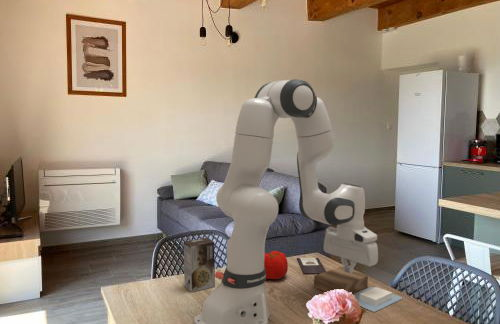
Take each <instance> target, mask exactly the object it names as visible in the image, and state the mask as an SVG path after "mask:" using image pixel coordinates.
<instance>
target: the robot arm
mask: <svg viewBox="0 0 500 324" xmlns="http://www.w3.org/2000/svg"><path fill="white" fill-rule="evenodd" d="M279 118H280V119H289V118H290V119H291V121H292V122H293V124H294V128H295V135H296V139H297V146H298V147H297V148H298V151H297V154H296V164H297V176H298V182H299V200H298V201H299V202H298V207H299V212H300V213H301V215H302V217H304V218H305V219H307V220H310V221H317V222H320V223H322V224H326V225H329V226H328V227H327V228H325V236H324V241H323V247H322V248H323V251H324V252H325V254H326V253H327V254H329V255H333V256H336V257H338V258H340V262H341V264H342V268H343V270H344V271H346V272H349V273H353V272H355V270H354V268H355V267H356V266H357V264H360V265H364V266H367V267H373V266H375V265H376V264H377V263H378V261H379V247H378V244H377V242H376V241H377V240H378V235H377V234H376V233H375V232H373V231H372V230H370V229H368V228H367V227H366V226H365V220H364V214H365V213H366V212H365V211H366V195H365V194H366V193H365V190H364V188H363V187H362V186H361V185H359V184H358V185H356V184H351V183H345V182H343V183H341V184H340V186H339V187H338V188H337V189H336V190H334V191H332V192H329V193H325V192H322V190H321V189H320V188H319V184H318V183H319V182H318V176H317V175H318V173H317V165H318V162H320V161H321V160H323V159H326V158H327V157H328V156H329V155H330V154H331V152H332V150H333V149H334V146H335V143H334V142H335V140H334V132H333V127H332V123H331V120H330V116H329V113H328V111H327V107H326V105H325V103H324V101H323V99H321V98H320V97H317V96H316V92H315V90H314V88H313V87H312V86H311V85H310V84H309V83H308V81H305V80H302V79H298V78H297V79H296V78H295V79H293V78H292V79H280V80H275V81H272V82H271V81H270V82H267V83H265V84H263V85H262V86H260V88H258V90H257V92H256V93H255V95H254V97H252V98H249V99H246V100H245V101H244V102H243V104H241V107H240V110H239V113H238V117H237V122H236V127H235V133H234V134H235V135H234V142H233V147H232V155H231V161H230V164H229V168H228V170H227V173H226V177H225V179H224V182H223V184H222V185H221V186H220V187H219V189H218V190H217V192H216V199H215V200H216V204H217V206H218V208H219V209H220V210H221V212H222V213H224V215H225V216H227V217H230V218H231V219H233V228H232V232H231V235H230V238H229V239H228V240H227V242H226V267H225V269H224V271H223V272H221V271H220V270H217V271H215V279H218V280H221V282H220V283H219V284H218V285H217V286H216V288H215V289H213V291H211V293H210V294H209V295H208V296H207V297H206V298H204V300H203V304H202V309H201V313H198V314H197V315H195V316H194V317H193V318H194V319H193V322H194V323H193V324H269V319H270V317H271V315H270V314H271V313H270V310H269V306H268V302H267V296H266V287H265V286H266V285H265V282H266V280H267V279H266V269H265V267H264V253H266V251H265V249H266V248H265V247H266V238H267V234H268V233H269V232H268V231H269V228H270V227H271V225H272V224H273V223H274V222H275V221H276V219H277V217H278V216H279V215H278V214H279V202H278V200H277V198H276V197H275V196H274V194H273V195H272V193H270V192H269V191H268V190H266V189H264V188H262V187H259V185H260V181H261V179H262V177H263V175H264V173H265V171H266V170H267V169H268V168H270V165H271V157H272V150H273V143H274V134H275V133H274V132H275V125H276V123H277V121H278V119H279ZM333 226H336V227H333ZM348 260H349V263H348ZM349 264H350V265H349Z"/></svg>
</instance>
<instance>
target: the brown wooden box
mask: <svg viewBox="0 0 500 324" xmlns="http://www.w3.org/2000/svg"><path fill="white" fill-rule="evenodd" d="M343 268H344V267H343V266H339V267H337V268H333V269H330V270H326V272H323V273H320V274H313V275H314V276H313V287H314V288H315V289H316V288H317V289H319V290H321V291H324V292H326V291H330V290H334V289H344V290H346V291H348V292H352V294H355V293H357V292H360V291H362V290H365V289H367V288H369V286H368V283H369V282H368V281H369V279H368V278H369V276H368V275H366V274H363V273H360V272H357V271H354V272H353V273H349V272H346V271H344V270H343Z"/></svg>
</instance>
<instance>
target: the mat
mask: <svg viewBox="0 0 500 324" xmlns="http://www.w3.org/2000/svg"><path fill="white" fill-rule="evenodd" d="M372 288H375V286H371V287H367V288H365V289H362V290H360V291H357V292H355V293H353V294H354V295H355V298H356V299H357V301H358V302H359V304H360V305H361V306H362V307H363V308H362V309H364V308H365V309H364V310H366V309H368V310H367V311H369V310H370V311H369V312H371V311H372V312H371V313H377V312H379V311H381V310H382V309H385V308H387V307H389V306H391V305H394V304H396V303H397V302H400V301H402V300H403V299H404V297H402V296H399V295H396V294H394V293H392V299H390V300H388V301H386V302H384V303H381V304H379V305H377V306H374V305H371V304H369V303H366V302H363V301H361V300H359V297H360V294H361V293H363V292H365V291H368V290H370V289H372ZM378 310H379V311H378ZM376 311H377V312H376Z"/></svg>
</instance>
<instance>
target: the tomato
mask: <svg viewBox="0 0 500 324" xmlns="http://www.w3.org/2000/svg"><path fill="white" fill-rule="evenodd" d="M264 267H265V269H266V280H278V279H281V278H283V277H285V276H286V275H287V273H288V270H289V269H288V268H289V265H288V259H287V257H286V254H284V252H280V251H278V250H273V251H270V252H268V253H267V252H264Z"/></svg>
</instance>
